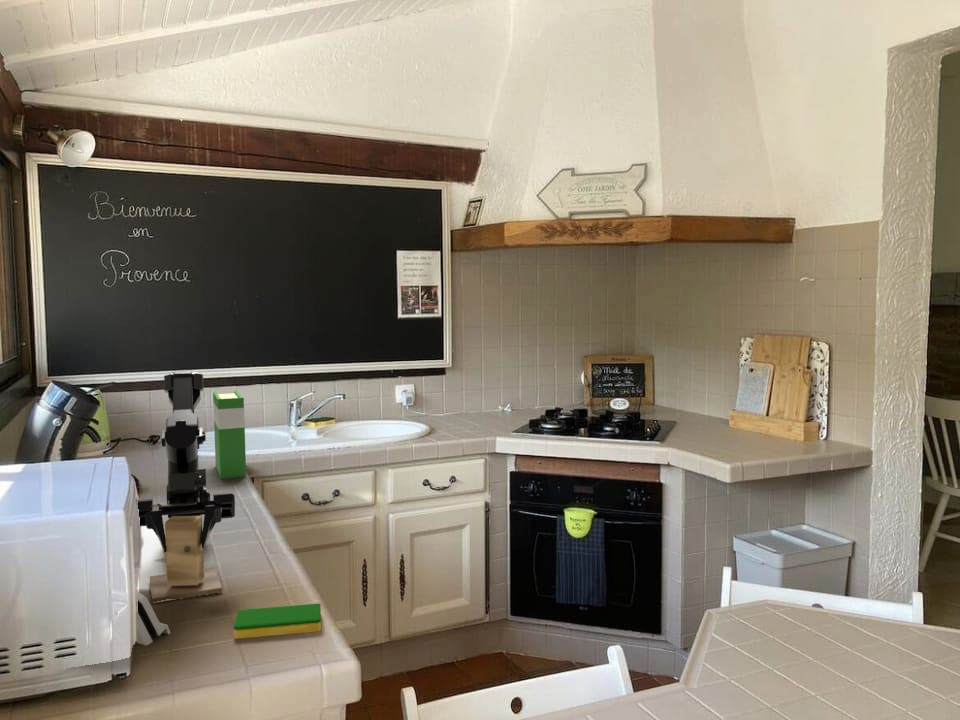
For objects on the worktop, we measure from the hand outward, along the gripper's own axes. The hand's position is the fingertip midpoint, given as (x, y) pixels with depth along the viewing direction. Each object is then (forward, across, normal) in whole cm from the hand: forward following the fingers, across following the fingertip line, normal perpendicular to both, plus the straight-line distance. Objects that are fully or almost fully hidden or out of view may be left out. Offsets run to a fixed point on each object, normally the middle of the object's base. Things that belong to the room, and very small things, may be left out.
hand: (184, 549), depth 146 cm
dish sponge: (+21, +15, -8) cm, 27 cm away
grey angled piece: (+16, -10, -4) cm, 19 cm away
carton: (-64, +11, +77) cm, 101 cm away
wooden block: (+4, 0, +6) cm, 7 cm away
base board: (+4, 0, +8) cm, 9 cm away
